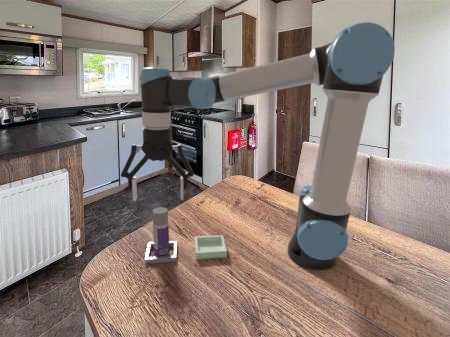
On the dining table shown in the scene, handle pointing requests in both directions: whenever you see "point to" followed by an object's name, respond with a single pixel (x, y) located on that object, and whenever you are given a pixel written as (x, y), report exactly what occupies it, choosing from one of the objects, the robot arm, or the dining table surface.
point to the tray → (210, 247)
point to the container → (160, 232)
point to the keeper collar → (164, 258)
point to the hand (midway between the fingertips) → (158, 198)
